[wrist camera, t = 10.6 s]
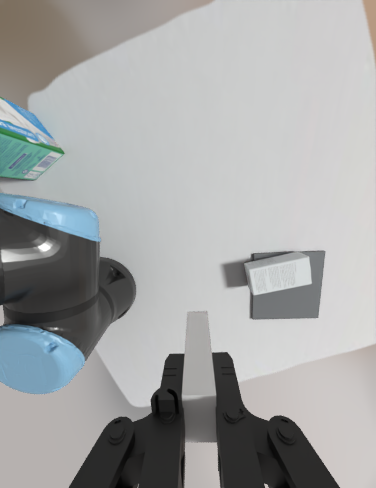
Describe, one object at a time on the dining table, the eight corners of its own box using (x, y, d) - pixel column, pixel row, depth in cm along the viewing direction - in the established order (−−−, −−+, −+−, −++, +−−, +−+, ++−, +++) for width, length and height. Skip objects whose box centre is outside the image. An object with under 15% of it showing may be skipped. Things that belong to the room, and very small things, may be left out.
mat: (252, 318, 48) (252, 319, 47) (253, 253, 44) (254, 254, 43) (316, 316, 47) (318, 317, 46) (323, 250, 43) (325, 251, 43)
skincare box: (247, 287, 45) (301, 276, 44) (253, 296, 41) (312, 284, 40) (243, 262, 44) (299, 250, 43) (248, 268, 40) (310, 256, 39)
